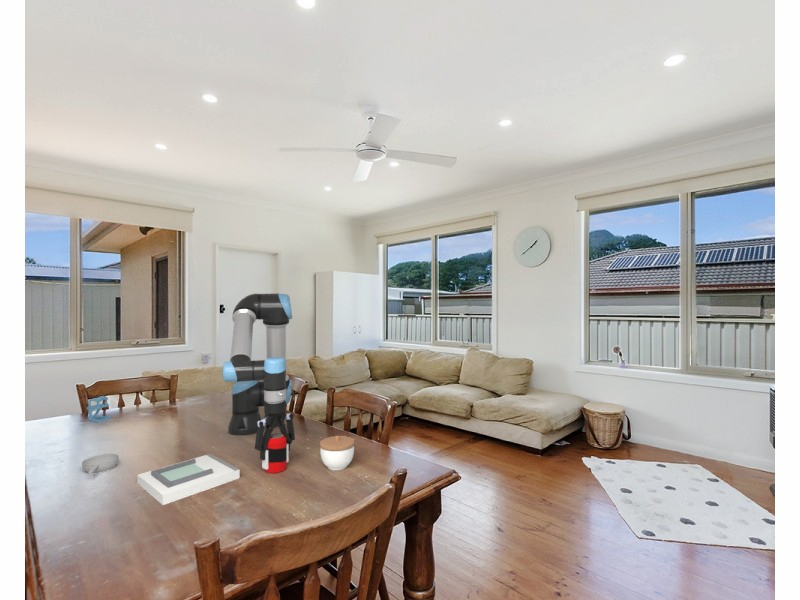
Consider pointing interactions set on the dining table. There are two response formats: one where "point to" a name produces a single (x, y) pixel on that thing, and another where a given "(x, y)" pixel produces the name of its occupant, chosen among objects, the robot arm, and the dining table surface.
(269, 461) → the soda can
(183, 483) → the dock
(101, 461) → the saucepan
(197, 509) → the dining table surface
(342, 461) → the lidded bowl
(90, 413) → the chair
